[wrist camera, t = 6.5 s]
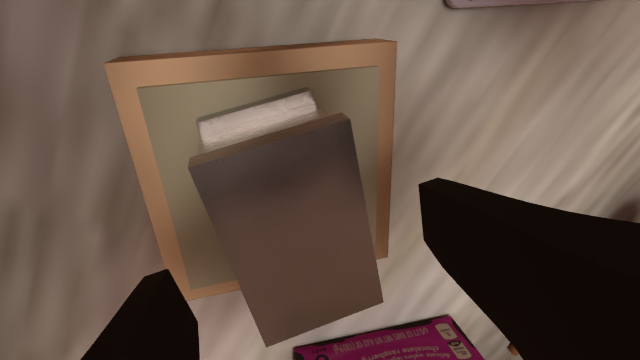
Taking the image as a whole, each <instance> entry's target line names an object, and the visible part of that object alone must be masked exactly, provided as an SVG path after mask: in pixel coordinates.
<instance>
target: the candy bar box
mask: <svg viewBox="0 0 640 360" xmlns="http://www.w3.org/2000/svg"><path fill="white" fill-rule="evenodd" d="M293 360H485V359H484V358H483V357H482V356H481V354H480V353H479V352H478V350H477V349H476V348H475V347H474V345H473V344H472V343H471V341H470V340H469V339H468V338H467V336H466V335H465V334H464V333H463V331H462V330H461V329H460V327H459V326H458V325H457V324H456V322H455V321H454V320H453V319H452V317H451V316H447V317H442V318H437V319H433V320H429V321H424V322H419V323H414V324H410V325H405V326H400V327H395V328H391V329H386V330H381V331H377V332H372V333H367V334H363V335H358V336H353V337H348V338H343V339H338V340H334V341H329V342H324V343H319V344H314V345H309V346H305V347H300V348H295V349H293Z"/></svg>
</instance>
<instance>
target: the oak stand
mask: <svg viewBox="0 0 640 360" xmlns="http://www.w3.org/2000/svg"><path fill="white" fill-rule="evenodd" d="M396 52H397V41H390V40H382V39H364V40H350V41H336V42H322V43H309V44H295V45H281V46H267V47H254V48H240V49H226V50H212V51H198V52H185V53H171V54H157V55H143V56H130V57H118V58H116V59H113V60H111V61H109V62H106V63H104V67H105V70H106V73H107V77H108V80H109V83H110V87H111V90H112V93H113V97H114V100H115V103H116V107H117V110H118V113H119V116H120V120H121V123H122V126H123V130H124V133H125V136H126V140H127V143H128V146H129V150H130V153H131V156H132V160H133V163H134V166H135V170H136V173H137V176H138V180H139V183H140V186H141V190H142V193H143V196H144V199H145V203H146V206H147V209H148V213H149V216H150V219H151V223H152V226H153V229H154V233H155V236H156V239H157V243H158V246H159V249H160V253H161V256H162V259H163V263H164V266H165V269H169V271H170V273H171V275H172V276H173V278H174V280H175V282H176V284H177V285H178V287H179V289H180V291H181V293H182V294H183V296H184V298H185V300H186V301H189V300H194V299H198V298H203V297H207V296H212V295H216V294H221V293H225V292H230V291H235V290H239V289H241V288H240V286H239V284H238V282H237V279H236V277H235V275H234V272H233V270H232V268H231V266H230V263H229V261H228V259H227V256H226V254H225V252H224V250H223V247H222V245H221V243H220V241H219V238H218V236H217V234H216V231H215V229H214V227H213V225H212V222H211V220H210V218H209V215H208V213H207V211H206V209H205V206H204V204H203V202H202V200H201V197H200V195H199V193H198V190H197V188H196V186H195V184H194V181H193V179H192V177H191V174H190V172H189V170H188V163H189V158H190V157H192V156H196V155H198V150H199V143H200V135H201V134H200V132H199V129H198V127H197V124H196V121H197V118H198V117H202V116H205V115H209V114H212V113H216V112H220V111H223V110H227V109H230V108H234V107H237V106H241V105H244V104H248V103H251V102H255V101H258V100H262V99H265V98H269V97H273V96H276V95H280V94H283V93H287V92H290V91H294V90H297V89H301V88H304V87H308V88H310V89H311V90H312V93H313V97H314V102H316V103H317V104H318V105H319V106H320V107H322V108H323V109H324V110H325V111H326V112H327V113H329V114H330V115H333V114H337V113H340V112H342V113H343V114H344V115H346V116H347V117H348V118H350V120H351V126H352V131H353V137H354V142H355V148H356V153H357V159H358V164H359V170H360V175H361V181H362V186H363V192H364V197H365V203H366V209H367V214H368V220H369V225H370V231H371V236H372V242H373V247H374V253H375V258H376V259H380V258H385V257H388V236H389V213H390V190H391V167H392V144H393V121H394V98H395V75H396Z"/></svg>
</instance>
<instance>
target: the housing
mask: <svg viewBox="0 0 640 360" xmlns="http://www.w3.org/2000/svg"><path fill="white" fill-rule="evenodd" d="M196 124H197V127H198V129H199V132H200V134H201V135H200V143H199V150H198V155H196V156H192V157H190V158H189V163H188V170H189V172H190V174H191V177H192V179H193V181H194V184H195V186H196V188H197V190H198V193H199V195H200V197H201V200H202V202H203V204H204V206H205V209H206V211H207V213H208V215H209V218H210V220H211V222H212V225H213V227H214V229H215V231H216V234H217V236H218V238H219V241H220V243H221V245H222V247H223V250H224V252H225V254H226V256H227V259H228V261H229V263H230V266H231V268H232V270H233V272H234V275H235V277H236V279H237V282H238V284H239V286H240V288H241V291H242V293H243V295H244V297H245V300H246V302H247V304H248V307H249V309H250V311H251V313H252V316H253V318H254V320H255V323H256V325H257V327H258V329H259V332H260V334H261V336H262V338H263V341H264V343H265V345H266V347H269V346H271V345H274V344H276V343H279V342H282V341H284V340H287V339H289V338H292V337H295V336H297V335H300V334H302V333H305V332H308V331H310V330H313V329H315V328H318V327H320V326H323V325H326V324H328V323H331V322H333V321H336V320H339V319H341V318H344V317H346V316H349V315H352V314H354V313H357V312H359V311H362V310H364V309H367V308H370V307H372V306H375V305H377V304H380V303H383V297H382V291H381V286H380V280H379V275H378V269H377V264H376V258H375V253H374V247H373V242H372V236H371V231H370V225H369V220H368V214H367V209H366V203H365V197H364V192H363V186H362V181H361V175H360V170H359V164H358V159H357V153H356V148H355V142H354V137H353V131H352V126H351V120H350V118H348V117H347V116H346V115H344V114H343V113H342V112H340V113H337V114H333V115H330V114H329V113H327V112H326V111H325V110H324V109H323V108H322V107H320V106H319V105H318V104H317V103H316V102H314V97H313V93H312V90H311V89H310V88H308V87H304V88H301V89H297V90H294V91H290V92H287V93H283V94H280V95H276V96H273V97H269V98H265V99H262V100H258V101H255V102H251V103H248V104H244V105H241V106H237V107H234V108H230V109H227V110H223V111H220V112H216V113H212V114H209V115H205V116H202V117H198V118H197V121H196Z"/></svg>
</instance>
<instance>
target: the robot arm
mask: <svg viewBox="0 0 640 360" xmlns="http://www.w3.org/2000/svg"><path fill="white" fill-rule="evenodd" d="M577 1H595V0H446V2H447V5H448V6H450V7H451V8H469V7H487V6H505V5H523V4H541V3H559V2H577ZM419 195H420V205H421V216H422V227H423V237H424V241H425V243H426V244H427V246H428V247H429V249H430V250H431V251H432V253H433V254H434V256H435V257H436V259H437V260H438V261H439V263H440V264H441V266H442V267H443V268H444V269H445V270H446V272H447V273H448V274H449V275H450V276H451V277H452V278H453V279H454V280H455V282H456V283H457V284H458V285H459V286H460V287H461V288H462V289H463V290H464V291H465V292H466V294H467V295H468V296H469V297H470V298H471V299H472V300H473V301H474V302H475V303H476V304H477V306H478V307H479V308H480V309H481V310H482V311H483V312H484V313H485V314H486V315H487V316H488V317H489V319H490V320H491V321H492V322H493V323H494V324H495V325H496V326H497V327H498V328H499V330H500V331H501V332H502V333H503V334H504V335H505V337H506V338H507V339H508V340H509V341H510V342H511V344H512V345H513V346H514V348H515V349H516V350H517V352H518V353H519V354H520V356H521V357H522V358H523V360H640V223H634V222H627V221H620V220H613V219H607V218H602V217H596V216H590V215H584V214H578V213H573V212H568V211H563V210H559V209H554V208H550V207H546V206H542V205H537V204H533V203H529V202H525V201H521V200H517V199H514V198H510V197H506V196H503V195H499V194H496V193H492V192H489V191H485V190H482V189H478V188H475V187H471V186H468V185H465V184H461V183H457V182H454V181H450V180H446V179H441V178H436V179H433V180H430V181H427V182H424V183H421V184H419ZM81 360H200V356H199V335H198V321H197V320H196V318H195V316H194V314H193V312H192V311H191V309H190V307H189V305H188V303H187V302H186V300H185V298H184V296H183V294H182V293H181V291H180V289H179V287H178V285H177V284H176V282H175V280H174V278H173V276H172V275H171V273H170V271H169V269H165V270H163V271H160V272H157V273H154V274H151V275H148V276H145V277H144V278H143V279H142V280H141V281H140V283H139V284H138V285H137V286H136V288H135V289H134V290H133V292H132V293H131V294H130V296H129V297H128V298H127V300H126V301H125V302H124V304H123V305H122V306H121V308H120V309H119V310H118V312H117V313H116V314H115V316H114V317H113V318H112V320H111V321H110V322H109V324H108V325H107V326H106V328H105V329H104V330H103V332H102V333H101V334H100V336H99V337H98V338H97V339H96V341H95V342H94V343H93V345H92V346H91V347H90V349H89V350H88V351H87V352H86V353H85V355H84V356H83V357H82V358H81Z"/></svg>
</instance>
